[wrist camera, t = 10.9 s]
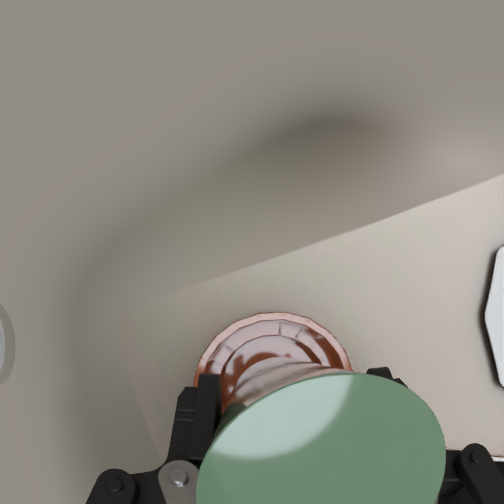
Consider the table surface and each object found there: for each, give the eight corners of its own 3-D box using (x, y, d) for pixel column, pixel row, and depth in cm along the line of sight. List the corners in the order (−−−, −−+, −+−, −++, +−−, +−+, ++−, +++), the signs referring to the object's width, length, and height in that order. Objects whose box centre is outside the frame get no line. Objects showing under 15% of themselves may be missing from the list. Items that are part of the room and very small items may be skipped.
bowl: (231, 461, 24) (227, 482, 19) (185, 343, 27) (171, 342, 22) (353, 415, 25) (373, 427, 20) (309, 299, 28) (321, 289, 23)
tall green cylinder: (250, 462, 15) (251, 601, 4) (215, 376, 17) (152, 426, 5) (341, 427, 16) (459, 513, 4) (309, 342, 17) (411, 327, 6)
